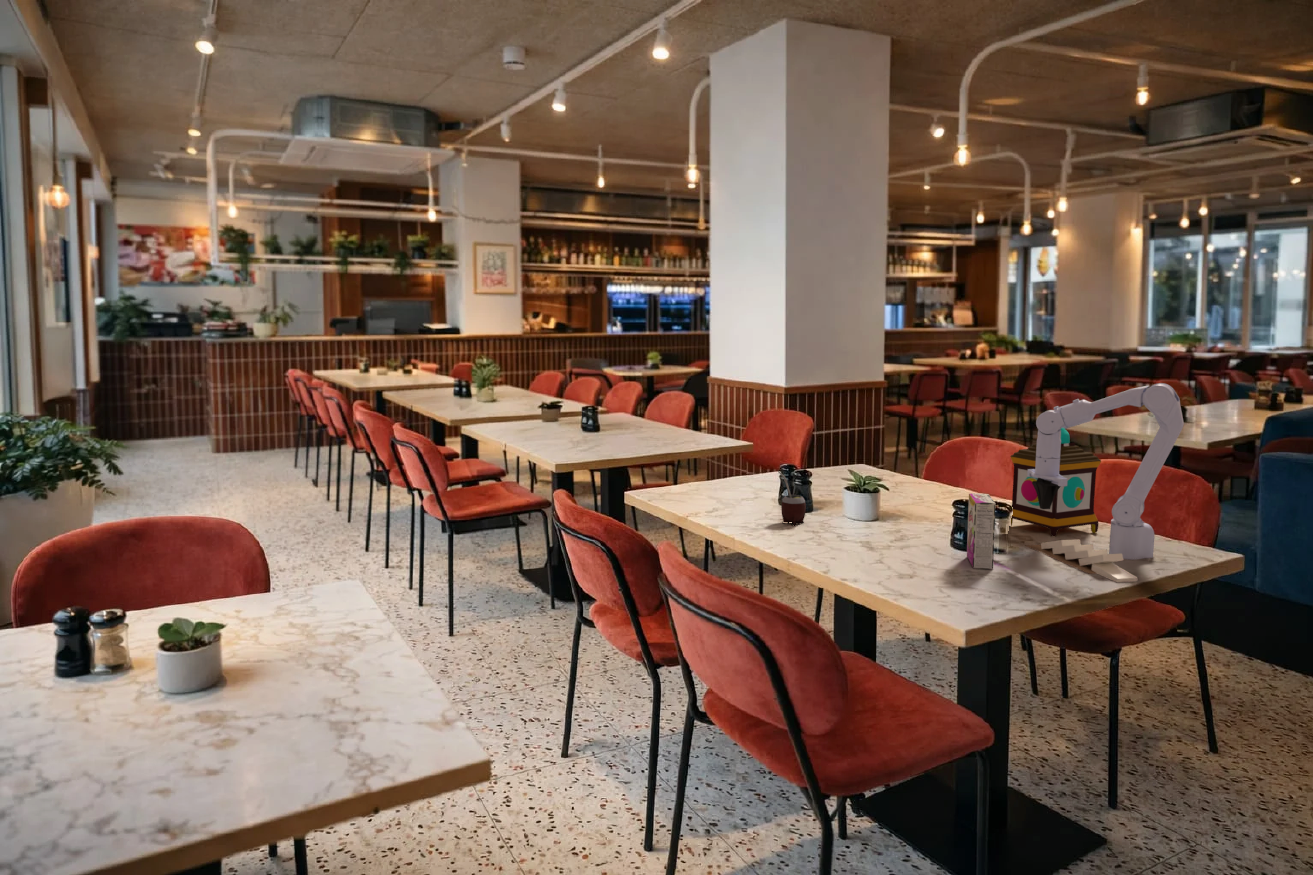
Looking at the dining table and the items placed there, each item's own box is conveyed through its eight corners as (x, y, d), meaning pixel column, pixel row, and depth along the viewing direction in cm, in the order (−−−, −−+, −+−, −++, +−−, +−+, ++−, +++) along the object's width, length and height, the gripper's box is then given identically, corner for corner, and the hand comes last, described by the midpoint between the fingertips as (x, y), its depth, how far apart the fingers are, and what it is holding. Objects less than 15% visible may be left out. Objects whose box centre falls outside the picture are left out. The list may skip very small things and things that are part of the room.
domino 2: (1052, 547, 222) (1074, 545, 213) (1070, 547, 223) (1092, 544, 214) (1053, 554, 222) (1074, 551, 213) (1071, 553, 223) (1093, 550, 214)
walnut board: (1056, 547, 232) (1056, 544, 232) (1123, 575, 206) (1124, 571, 206) (1025, 548, 230) (1025, 545, 230) (1088, 576, 205) (1088, 573, 205)
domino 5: (1092, 563, 207) (1117, 578, 198) (1111, 562, 208) (1137, 577, 199) (1091, 569, 207) (1116, 585, 199) (1110, 568, 208) (1136, 584, 199)
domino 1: (1040, 542, 227) (1061, 540, 218) (1058, 542, 228) (1079, 539, 219) (1041, 549, 227) (1062, 546, 218) (1059, 548, 227) (1080, 545, 219)
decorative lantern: (1053, 541, 238) (1060, 430, 234) (997, 525, 256) (1002, 422, 252) (1106, 533, 246) (1113, 426, 242) (1048, 519, 264) (1054, 419, 260)
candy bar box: (965, 556, 223) (968, 492, 220) (986, 557, 222) (989, 493, 220) (971, 569, 212) (974, 501, 210) (993, 570, 211) (997, 502, 209)
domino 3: (1064, 553, 217) (1087, 550, 208) (1083, 552, 218) (1106, 549, 209) (1065, 559, 217) (1088, 557, 208) (1084, 558, 218) (1107, 556, 209)
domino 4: (1078, 559, 212) (1102, 554, 203) (1097, 558, 213) (1122, 553, 204) (1079, 565, 211) (1103, 561, 203) (1098, 564, 212) (1123, 560, 204)
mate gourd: (807, 526, 256) (808, 475, 254) (779, 526, 256) (780, 475, 254) (803, 520, 263) (804, 470, 261) (776, 520, 263) (777, 470, 261)
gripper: (1017, 453, 235) (1015, 503, 236) (1050, 461, 220) (1047, 515, 222) (1042, 452, 236) (1039, 502, 237) (1076, 461, 221) (1073, 514, 223)
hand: (1045, 508), depth 230 cm, fingers closed
